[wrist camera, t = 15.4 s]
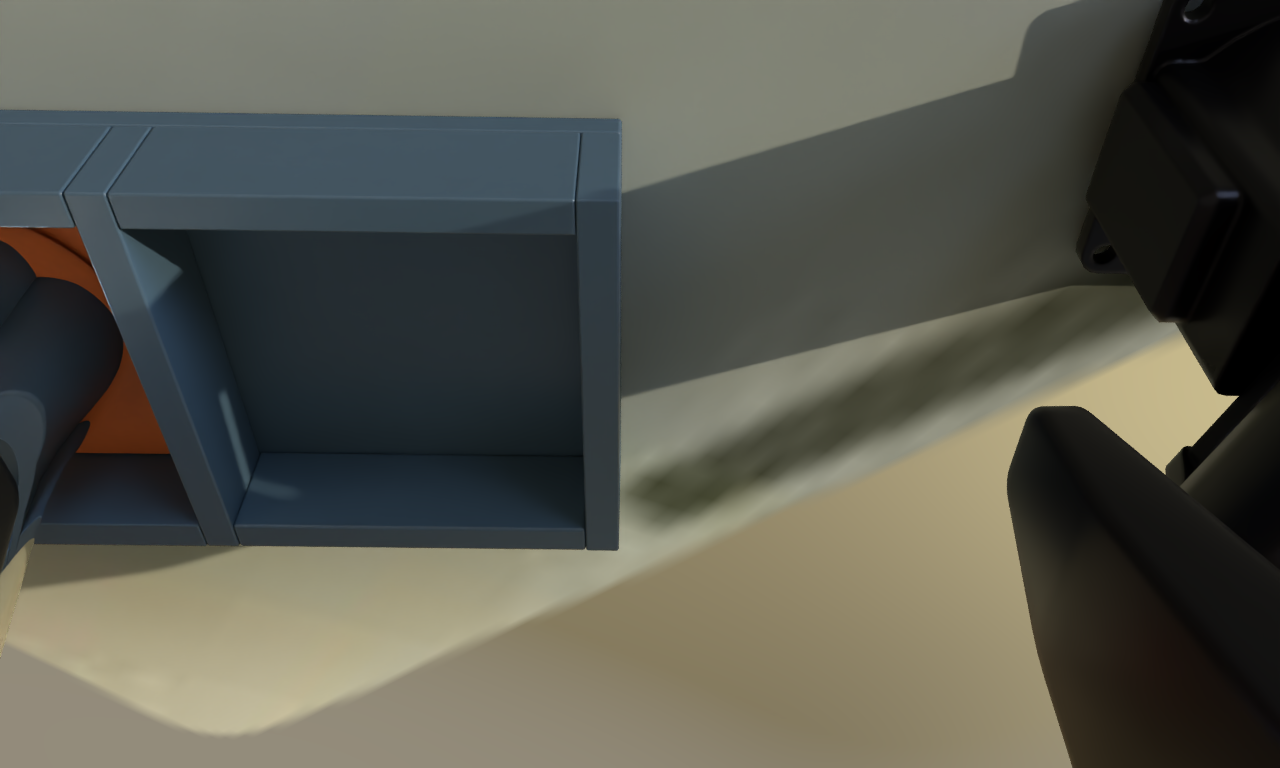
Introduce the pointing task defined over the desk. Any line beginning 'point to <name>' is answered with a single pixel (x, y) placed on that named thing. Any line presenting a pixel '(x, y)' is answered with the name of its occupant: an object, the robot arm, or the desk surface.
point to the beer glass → (49, 379)
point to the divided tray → (340, 325)
